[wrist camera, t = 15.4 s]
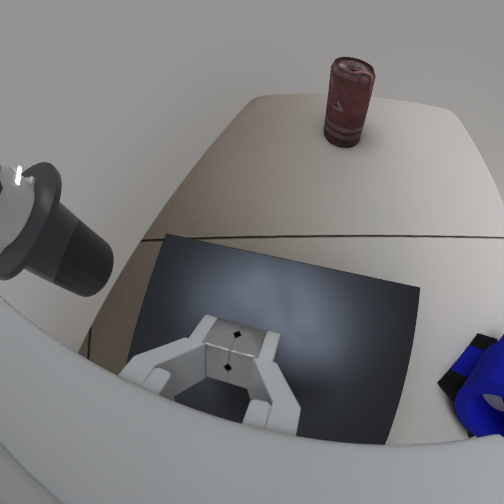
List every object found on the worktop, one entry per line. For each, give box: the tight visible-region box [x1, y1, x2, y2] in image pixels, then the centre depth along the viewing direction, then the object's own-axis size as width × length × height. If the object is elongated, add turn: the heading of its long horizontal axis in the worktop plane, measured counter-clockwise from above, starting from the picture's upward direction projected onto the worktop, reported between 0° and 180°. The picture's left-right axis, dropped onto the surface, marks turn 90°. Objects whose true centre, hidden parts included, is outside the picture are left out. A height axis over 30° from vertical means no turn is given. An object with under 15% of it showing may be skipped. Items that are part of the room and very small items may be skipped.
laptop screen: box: [126, 234, 420, 445], centre depth 26 cm, size 21×30×1 cm
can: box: [324, 57, 375, 147], centre depth 33 cm, size 6×6×14 cm
